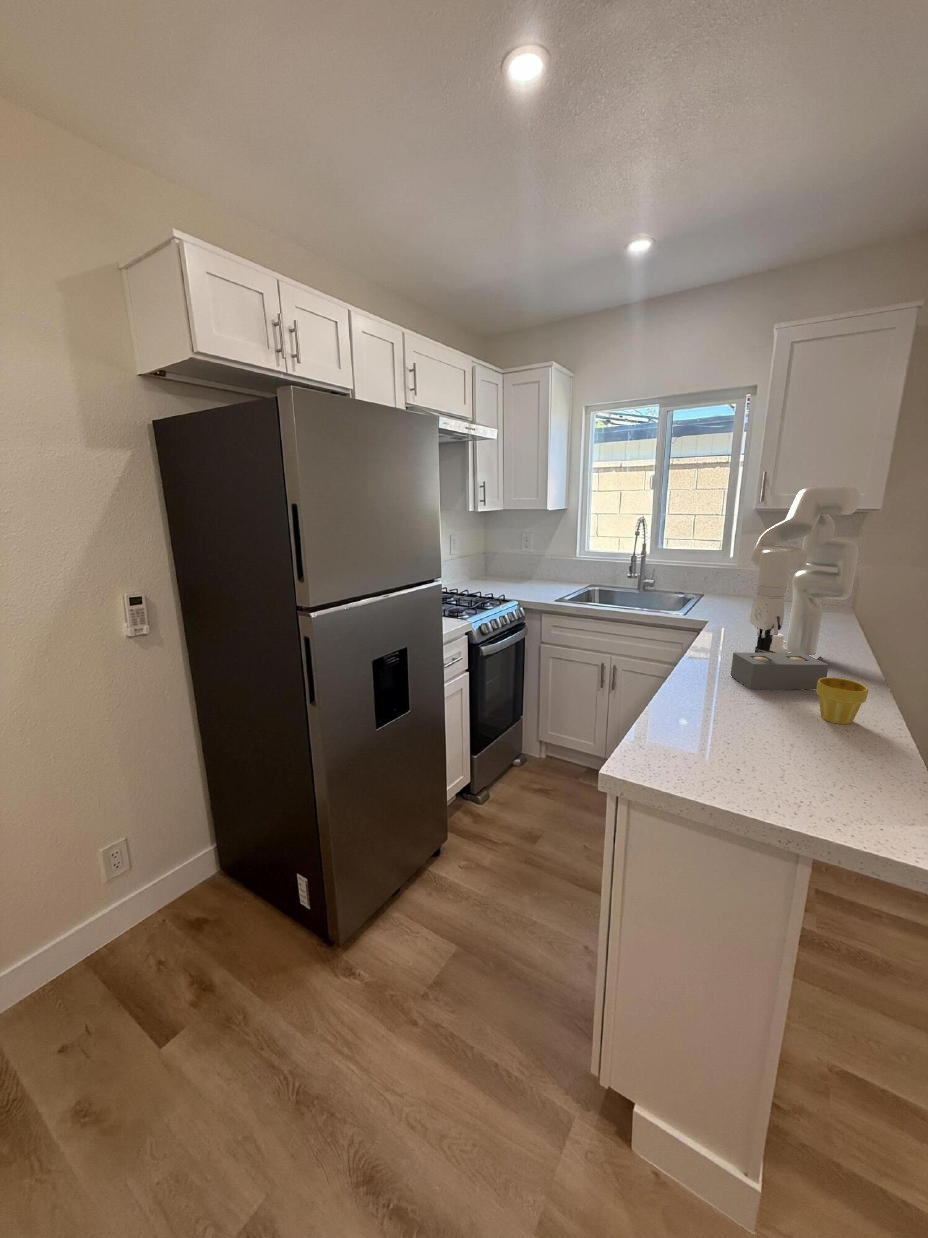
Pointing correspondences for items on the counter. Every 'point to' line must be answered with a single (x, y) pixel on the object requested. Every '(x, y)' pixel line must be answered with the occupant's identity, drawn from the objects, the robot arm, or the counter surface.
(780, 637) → the medicine bottle
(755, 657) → the peg
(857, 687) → the plant pot
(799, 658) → the peg
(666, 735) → the counter surface
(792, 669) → the collar block
